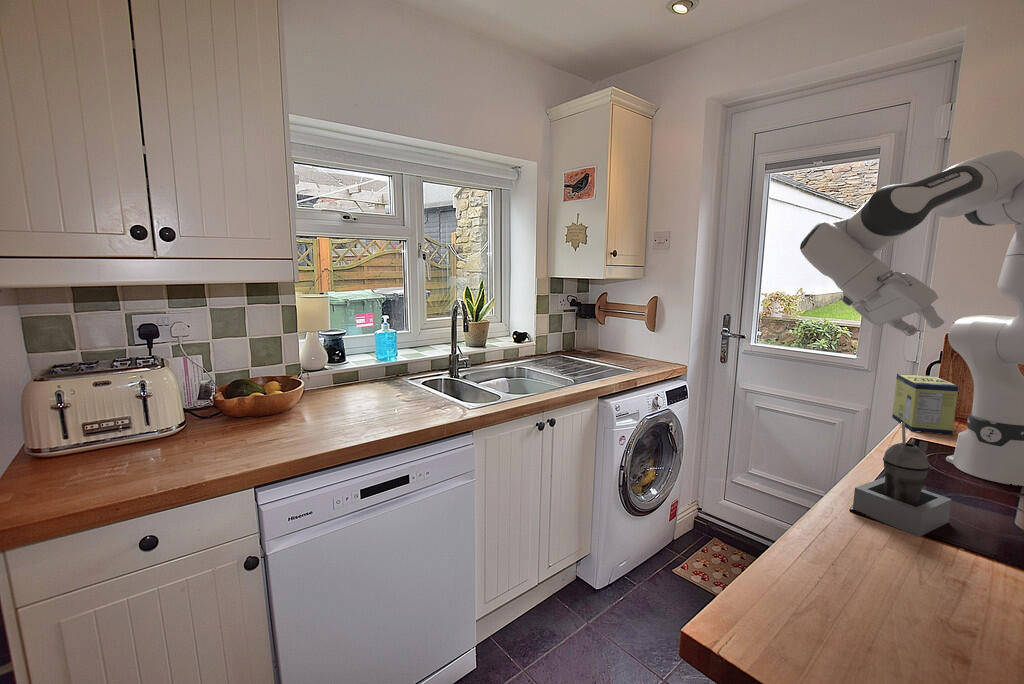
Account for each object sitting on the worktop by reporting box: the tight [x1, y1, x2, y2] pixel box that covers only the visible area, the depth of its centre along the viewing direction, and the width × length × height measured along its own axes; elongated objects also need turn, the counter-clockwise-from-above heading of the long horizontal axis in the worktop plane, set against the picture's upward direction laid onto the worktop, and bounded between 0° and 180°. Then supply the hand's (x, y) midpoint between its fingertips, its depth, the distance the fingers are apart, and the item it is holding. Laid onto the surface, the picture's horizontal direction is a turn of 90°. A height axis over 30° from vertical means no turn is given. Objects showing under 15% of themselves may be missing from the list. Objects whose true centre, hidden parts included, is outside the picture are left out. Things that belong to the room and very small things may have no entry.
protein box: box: [891, 373, 959, 435], centre depth 148 cm, size 10×16×16 cm
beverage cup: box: [882, 423, 930, 507], centre depth 93 cm, size 7×7×20 cm
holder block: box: [852, 476, 953, 538], centre depth 95 cm, size 12×12×5 cm
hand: (926, 329), depth 94 cm, fingers open, 8 cm apart
